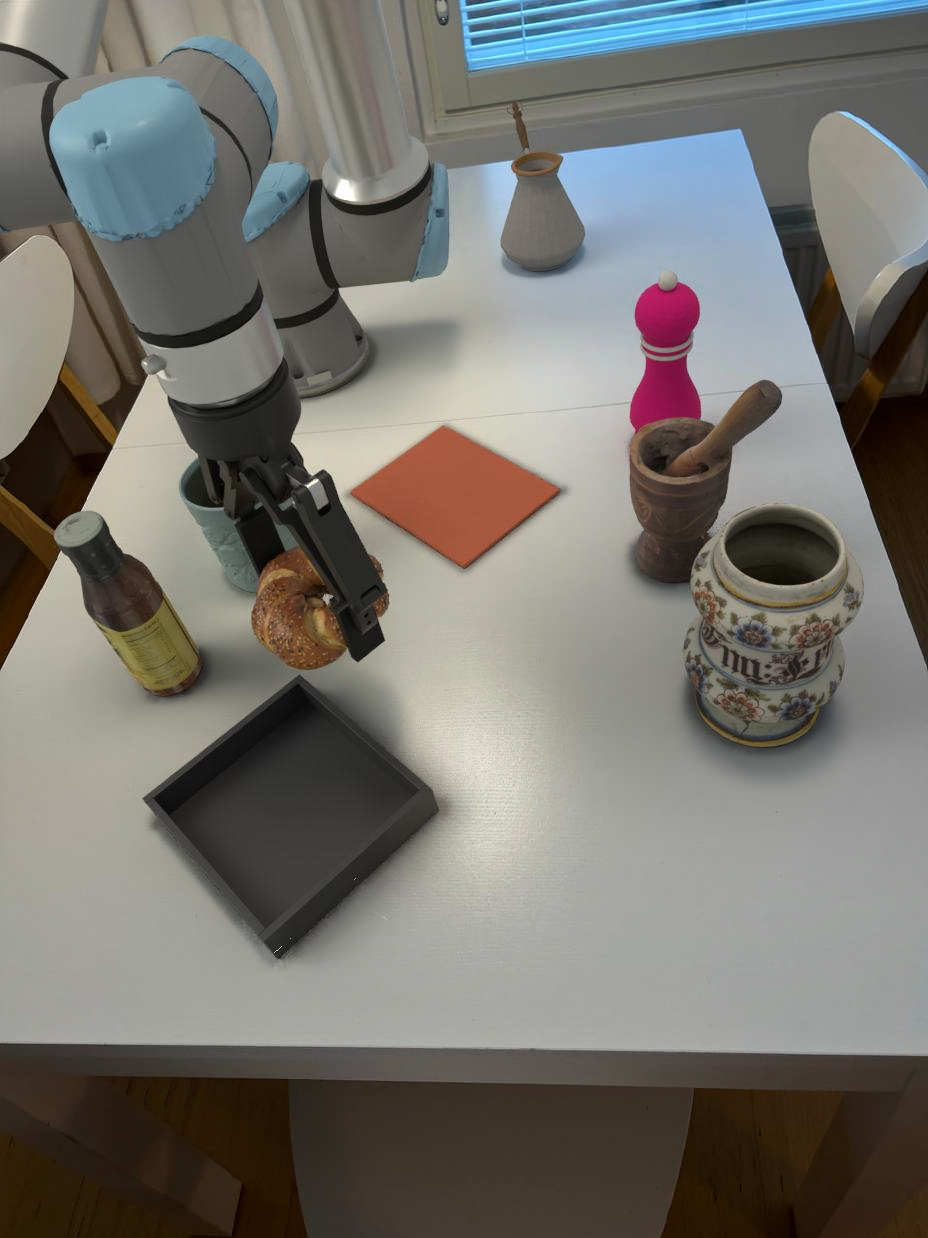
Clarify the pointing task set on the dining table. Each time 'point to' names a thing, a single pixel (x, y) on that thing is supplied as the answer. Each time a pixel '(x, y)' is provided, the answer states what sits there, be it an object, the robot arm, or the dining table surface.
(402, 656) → the dining table surface
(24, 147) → the robot arm
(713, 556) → the apothecary jar
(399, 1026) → the dining table surface
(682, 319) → the pepper mill
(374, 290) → the dining table surface
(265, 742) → the tray
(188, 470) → the light blue ceramic cup
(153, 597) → the sauce bottle
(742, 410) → the mortar and pestle
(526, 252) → the coffee pot
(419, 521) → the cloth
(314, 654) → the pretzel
